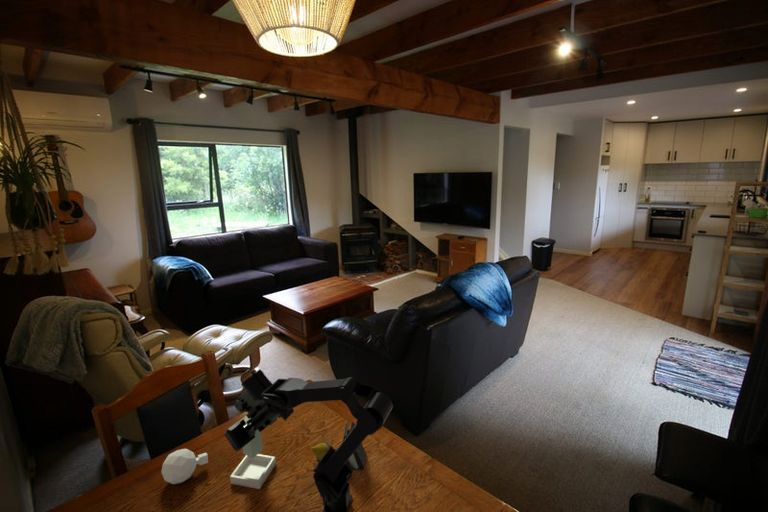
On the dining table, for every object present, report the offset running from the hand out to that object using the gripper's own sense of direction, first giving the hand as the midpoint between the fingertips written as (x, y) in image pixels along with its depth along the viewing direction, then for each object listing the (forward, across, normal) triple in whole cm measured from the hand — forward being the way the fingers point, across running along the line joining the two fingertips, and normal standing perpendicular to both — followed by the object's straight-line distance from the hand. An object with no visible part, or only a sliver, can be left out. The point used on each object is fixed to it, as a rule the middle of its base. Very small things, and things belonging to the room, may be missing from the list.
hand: (247, 430), depth 108 cm
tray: (+8, +1, +11) cm, 13 cm away
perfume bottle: (+20, +12, -1) cm, 23 cm away
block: (+4, 0, +6) cm, 7 cm away
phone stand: (-8, -17, +27) cm, 33 cm away
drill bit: (-2, -13, +21) cm, 25 cm away
